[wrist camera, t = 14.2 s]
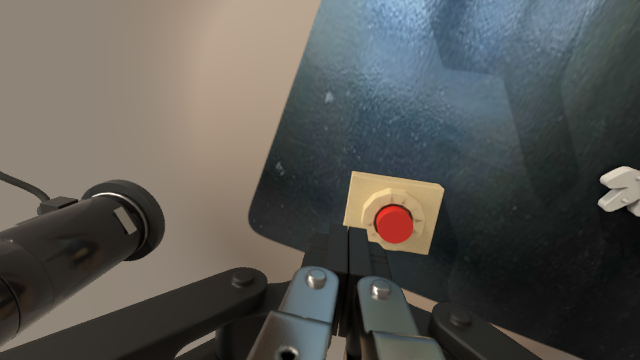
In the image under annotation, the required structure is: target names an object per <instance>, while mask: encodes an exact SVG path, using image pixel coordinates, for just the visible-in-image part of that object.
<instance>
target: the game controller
mask: <svg viewBox="0 0 640 360" xmlns="http://www.w3.org/2000/svg"><path fill="white" fill-rule="evenodd" d="M600 182H601V183H602V184H604V185H605V186H607V187H609V188H612V190H611V191H609V192H608V193H607V194H606V195H605V196H603V197H602V198H601V199H600V200H599V201H598V205H599V206H600V207H601V208H603V209H604V210H605V211H608V212H610V211H614V210H616V209H619V208H621V207H623V206H626V205H627V209H628V210H629V211H630V212H632V213H633V214H635V215H636V216H640V172H639V171H637V170H635V169H633V168H630V167H624V166H623V167H620V168H617V169H615V170H613V171H611V172H609V173H607V174H605V175H603V176H602V177H601V178H600Z"/></svg>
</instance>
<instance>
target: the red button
mask: <svg viewBox="0 0 640 360" xmlns="http://www.w3.org/2000/svg"><path fill="white" fill-rule="evenodd" d="M376 225H377V229H378V233H379V235H380V237H381V238H382V239H383V240H385V241H386V242H389V243H394V244H397V243H401V242H404V241H406V240H407V239H408V238H409V237H410V236H411V234H412V232H413V222H412V220H411V218H410V216H409V214H408V212H407V211H406V210H405V209H403V208H402V207H400V206H394V205H393V206H387V207H385V208H383V209H382V210H381V211H380V212H379V213H378V215H377V218H376Z"/></svg>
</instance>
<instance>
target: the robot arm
mask: <svg viewBox="0 0 640 360" xmlns="http://www.w3.org/2000/svg"><path fill="white" fill-rule="evenodd" d="M0 180H3V181H5V182H7V183H10V184H12V185H15V186H17V187H20V188H22V189H24V190H26V191H28V192H30V193H32V194H34V195H36V196H37V197H38V198H39V199H40V200H41V201H42V203H40V206H39V207H38V208H37V214H38V215H39V216H37V217H34V218H32V219H28V220H26V221H23V222H21V223H18V224H16V225H15V226H14V227H12V228H10V229H7V230H4V231H2V232H0V348H1V347H2V346H3V345H5V344H6V343H7V342H9V341H10V340H12V339H13V338H14V337H16V336H17V335H19V334H20V333H21V332H23V331H24V330H26V329H27V328H28V327H30V326H31V325H33V324H34V323H35V322H37V321H38V320H40V319H41V318H43V317H44V316H45V315H47V314H48V313H49V312H50V311H52V310H54V309H55V308H56V307H58V306H59V305H61V304H62V303H64V302H65V301H66V300H68V299H69V298H71V297H72V296H73V295H75V294H76V293H77V292H79V291H80V290H82V289H83V288H85V287H86V286H87V285H89V284H90V283H92V282H93V281H95V280H96V279H97V278H99V277H100V276H101V275H103V274H104V273H106V272H107V271H109V270H110V269H111V268H113V267H114V266H116V265H117V264H118V263H120V262H122V261H123V260H124V259H126V258H127V257H129V256H130V255H131V254H134V253H135V252H137V251H138V250H140V249H141V248H142V247H143V246H144V245H145V244H146V242H147V240H148V238H149V233H150V226H149V221H148V218H147V216H146V213H145V212H144V210H143V209H142V207H141V206H140V205H139V204H138V203H137V202H136V201H135V200H133V199H132V198H131V197H129V196H127V195H125V194H122V193H119V192H113V191H109V192H103V193H100V194H97V195H95V196H93V197H91V198H85V199H82V200H79V201H78V199H73V198H67V197H57V198H54V199H51V200H50V198H49V197H48V196H47V195H46V194H45V193H44V192H43V191H41V190H40V189H38V188H36V187H34V186H32V185H30V184H28V183H26V182H23V181H21V180H19V179H16V178H14V177H11V176H9V175H7V174H4V173H2V172H1V171H0ZM338 323H339V333H338V336H340V337H345V338H346V347H345V352H344V357H343V360H542V359H541V358H539V357H538V356H536V355H535V354H533V353H532V352H530V351H529V350H528V349H526V348H525V347H523V346H522V345H520V344H519V343H517V342H516V341H514V340H513V339H511V338H510V337H509V336H507V335H506V334H504V333H503V332H501V331H500V330H498V329H497V328H495V327H494V326H492V325H491V324H490V323H488V322H487V321H485V320H484V319H482V318H481V317H479V316H478V315H476V314H475V313H473V312H472V311H470V310H469V309H467V308H465V307H462V306H460V305H457V304H453V303H448V302H443V303H438V304H436V305H435V306H434V307H433V310H432V313H431V312H428V311H425V310H423V309H420V308H418V307H415V306H413V305H411V304H409V303H408V302H407V301H406V298H405V296H404V294H403V291H402V290H401V288H400V287H399V286H398V285H397V284H395V283H394V282H393V281H392V277H391V273H390V268H389V265H388V260H387V256H386V252H385V249H384V248H383V247H382V246H381V245H380V244H379V243H377V242H371V241H368V234H367V229H364V228H358V227H352V226H349V228H348V226H345V225H339V224H333V223H330V230H329V235H328V234H322V233H315V234H313V235H312V236H311V237H309V241H308V245H307V248H306V251H305V255H304V258H303V262H302V266H301V268H300V269H298V270H297V271H296V272H295V274H294V276H293V278H292V280H290V281H287V282H283V283H270V284H267V277H266V276H265V275H264V274H263V273H262V272H261V271H258V270H256V269H253V268H246V267H240V268H234V269H231V270H228V271H225V272H222V273H219V274H217V275H214V276H211V277H208V278H205V279H203V280H200V281H197V282H194V283H191V284H189V285H186V286H183V287H180V288H178V289H175V290H172V291H169V292H167V293H164V294H161V295H158V296H156V297H153V298H150V299H147V300H145V301H142V302H139V303H136V304H134V305H131V306H128V307H125V308H123V309H120V310H117V311H114V312H111V313H109V314H106V315H103V316H100V317H98V318H95V319H92V320H89V321H87V322H84V323H81V324H78V325H75V326H72V327H70V328H67V329H64V330H61V331H59V332H56V333H53V334H50V335H48V336H45V337H42V338H39V339H37V340H34V341H31V342H28V343H26V344H23V345H20V346H17V347H14V348H12V349H9V350H6V351H4V352H1V353H0V360H326V356H327V350H328V349H329V347H330V344H331V339H332V335H334V336H336V335H337V329H338ZM215 330H216V336H215V338H213V339H211V340H209V341H207V342H205V343H203V344H201V345H200V346H198V347H196V348H194V349H192V350H190V351H188V352H186V353H184V354H182V355H180V356H178V357H177V358H175V356H176V354H177V353H178V352H179V351H180V350H181V349H182V348H183V347H184V346H186V345H187V344H189V343H191V342H193V341H195V340H197V339H199V338H201V337H203V336H205V335H207V334H209V333H211V332H213V331H215ZM174 358H175V359H174Z"/></svg>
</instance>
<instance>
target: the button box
mask: <svg viewBox="0 0 640 360" xmlns="http://www.w3.org/2000/svg"><path fill="white" fill-rule="evenodd" d="M443 193H444V189H443V188H442V187H441V186H440V185H439V184H435V183H429V182H422V181H415V180H409V179H402V178H396V177H389V176H382V175H376V174H369V173H363V172H356V171H352V176H351V182H350V188H349V194H348V200H347V206H346V212H345V218H344V224H343V225H345V226H348V228H349V226H352V227H358V228H364V229H367V234H368V241H371V242H377V243H379V244H380V245H381V246H382V247H383V248H384V249H387V250H393V251H397V250H401V251H407V252H413V253H419V254H425V255H428V252H429V248H430V244H431V240H432V236H433V232H434V228H435V224H436V220H437V217H438V213H439V209H440V205H441V201H442V197H443ZM393 205H394V206H400V207H402V208H403V209H405V210H406V211H407V212H408V214H409V216H410V218H411V220H412V222H413V232H412V234H411V236H410V237H409V238H408V239H407V240H406V241H404V242H401V243H397V244H394V243H389V242H386V241H385V240H383V239H382V238H381V237H380V235H379V233H378V229H377V225H376V218H377V215H378V213H379V212H380V211H381V210H382V209H383V208H385V207H387V206H393Z"/></svg>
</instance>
